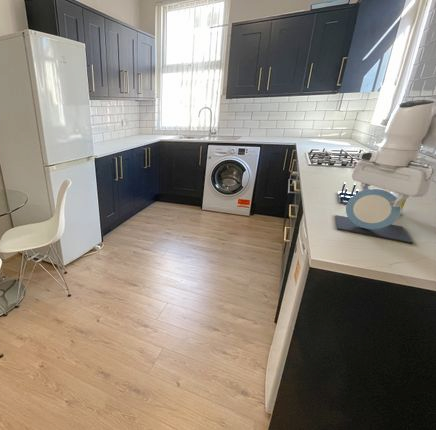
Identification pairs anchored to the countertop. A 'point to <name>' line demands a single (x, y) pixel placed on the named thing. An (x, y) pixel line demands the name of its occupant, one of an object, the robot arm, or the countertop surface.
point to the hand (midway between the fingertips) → (378, 201)
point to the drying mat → (374, 230)
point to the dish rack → (346, 194)
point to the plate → (372, 209)
